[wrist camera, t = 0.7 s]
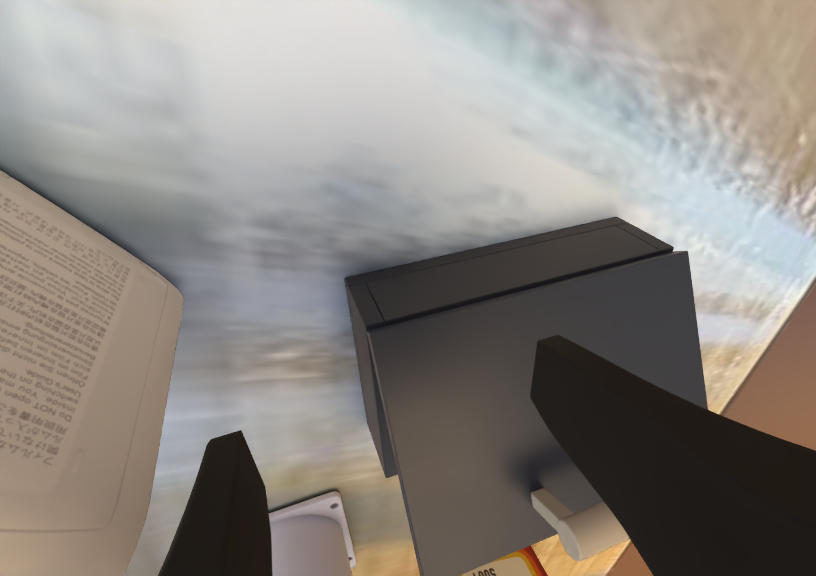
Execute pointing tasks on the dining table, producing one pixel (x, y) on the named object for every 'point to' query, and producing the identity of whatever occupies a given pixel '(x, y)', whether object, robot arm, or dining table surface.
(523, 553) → the baking soda box
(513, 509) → the cover
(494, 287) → the flip case
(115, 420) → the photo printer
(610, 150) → the dining table surface
